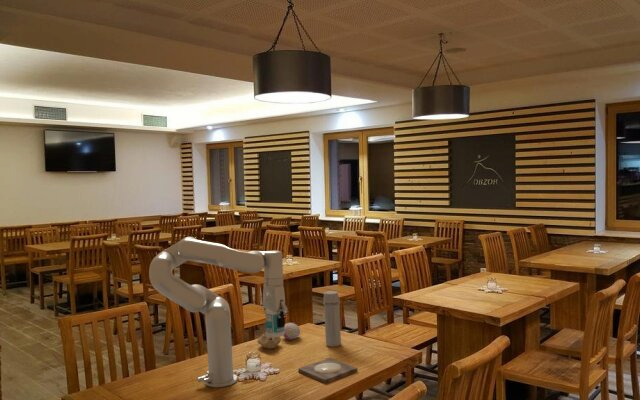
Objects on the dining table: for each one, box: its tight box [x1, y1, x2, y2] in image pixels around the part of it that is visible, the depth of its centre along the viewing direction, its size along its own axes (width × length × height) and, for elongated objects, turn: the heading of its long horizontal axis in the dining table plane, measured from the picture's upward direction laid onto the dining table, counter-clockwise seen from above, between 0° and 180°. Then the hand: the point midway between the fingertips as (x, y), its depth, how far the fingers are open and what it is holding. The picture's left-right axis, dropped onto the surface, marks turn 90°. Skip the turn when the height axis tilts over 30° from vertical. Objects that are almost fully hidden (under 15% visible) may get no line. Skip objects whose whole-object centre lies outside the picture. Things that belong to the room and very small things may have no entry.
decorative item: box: [282, 322, 301, 340], centre depth 257 cm, size 9×11×10 cm
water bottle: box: [322, 290, 342, 348], centre depth 242 cm, size 9×8×25 cm
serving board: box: [298, 357, 358, 384], centre depth 210 cm, size 17×17×2 cm
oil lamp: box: [257, 332, 282, 350], centre depth 244 cm, size 11×15×8 cm
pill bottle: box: [264, 308, 285, 338], centre depth 208 cm, size 8×7×14 cm
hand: (275, 324), depth 209 cm, fingers closed on pill bottle, 7 cm apart
